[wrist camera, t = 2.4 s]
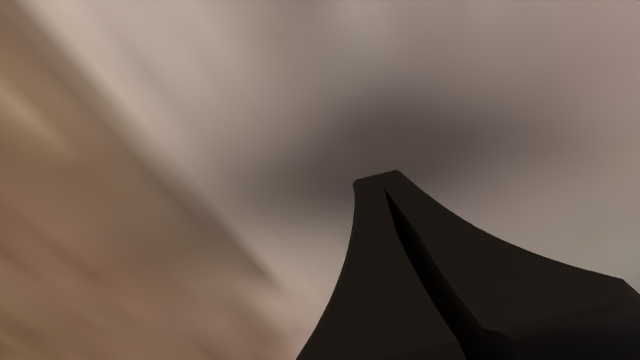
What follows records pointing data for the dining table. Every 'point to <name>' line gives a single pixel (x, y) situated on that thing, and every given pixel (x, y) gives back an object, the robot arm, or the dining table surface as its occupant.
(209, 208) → the dining table surface
